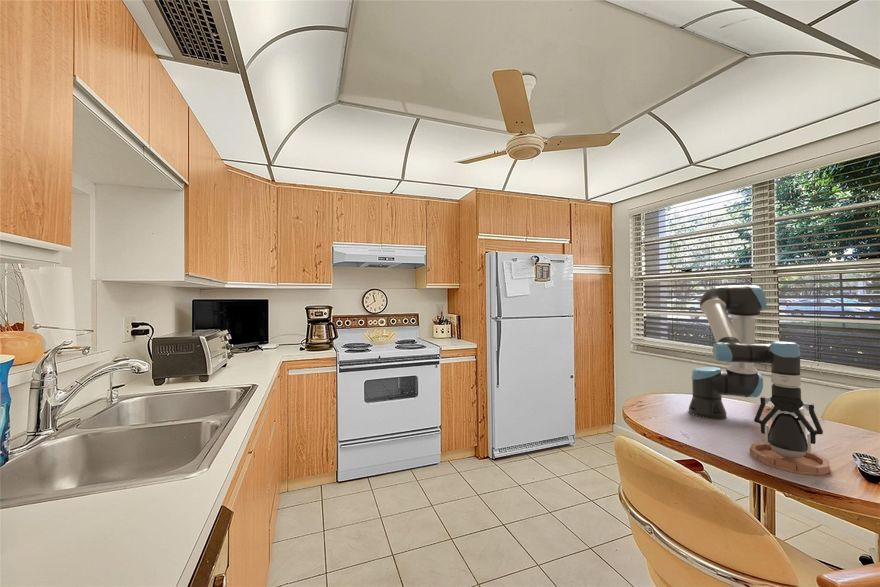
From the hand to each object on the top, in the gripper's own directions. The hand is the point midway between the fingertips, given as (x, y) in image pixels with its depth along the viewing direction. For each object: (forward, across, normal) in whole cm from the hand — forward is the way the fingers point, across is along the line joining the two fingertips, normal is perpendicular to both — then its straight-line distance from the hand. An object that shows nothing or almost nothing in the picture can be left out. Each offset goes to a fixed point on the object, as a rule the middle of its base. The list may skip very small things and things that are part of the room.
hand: (787, 447), depth 126 cm
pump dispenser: (+3, 0, 0) cm, 3 cm away
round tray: (+5, 0, 0) cm, 5 cm away
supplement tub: (+5, -1, +23) cm, 24 cm away
